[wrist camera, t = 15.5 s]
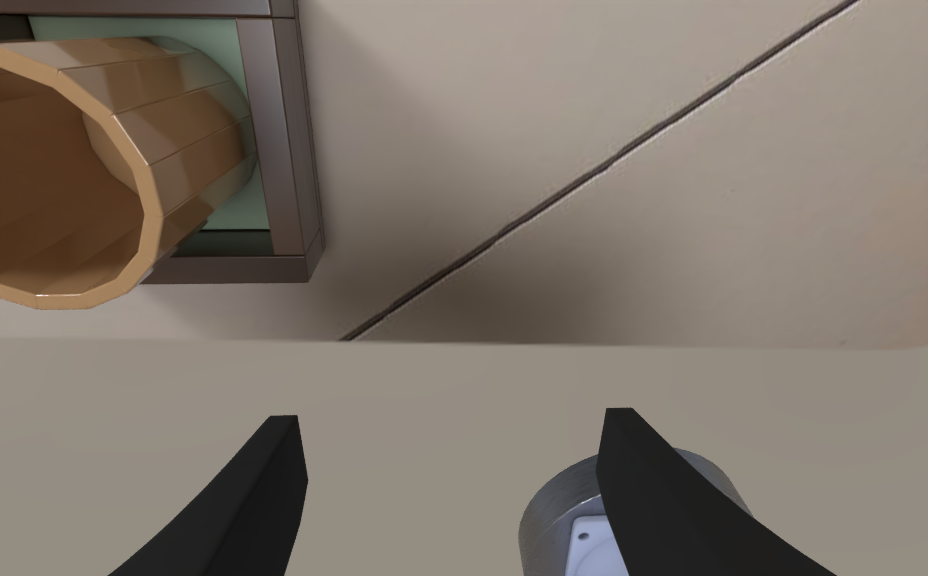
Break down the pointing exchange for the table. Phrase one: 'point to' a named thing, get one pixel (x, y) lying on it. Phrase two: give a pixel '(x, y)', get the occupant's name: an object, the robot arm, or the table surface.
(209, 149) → the paper cup
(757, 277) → the table surface
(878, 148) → the table surface
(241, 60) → the cup holder
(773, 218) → the table surface
